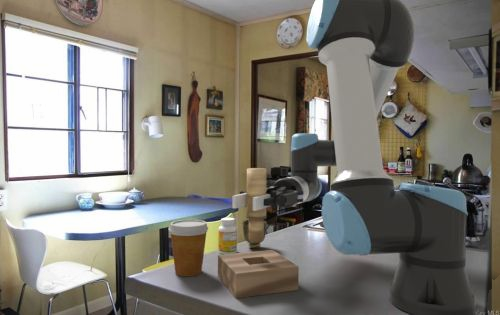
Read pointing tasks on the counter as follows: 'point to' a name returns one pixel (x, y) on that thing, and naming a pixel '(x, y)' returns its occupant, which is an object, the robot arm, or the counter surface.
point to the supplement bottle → (227, 236)
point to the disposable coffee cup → (188, 246)
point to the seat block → (257, 273)
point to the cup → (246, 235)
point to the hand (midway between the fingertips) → (244, 203)
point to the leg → (254, 189)
